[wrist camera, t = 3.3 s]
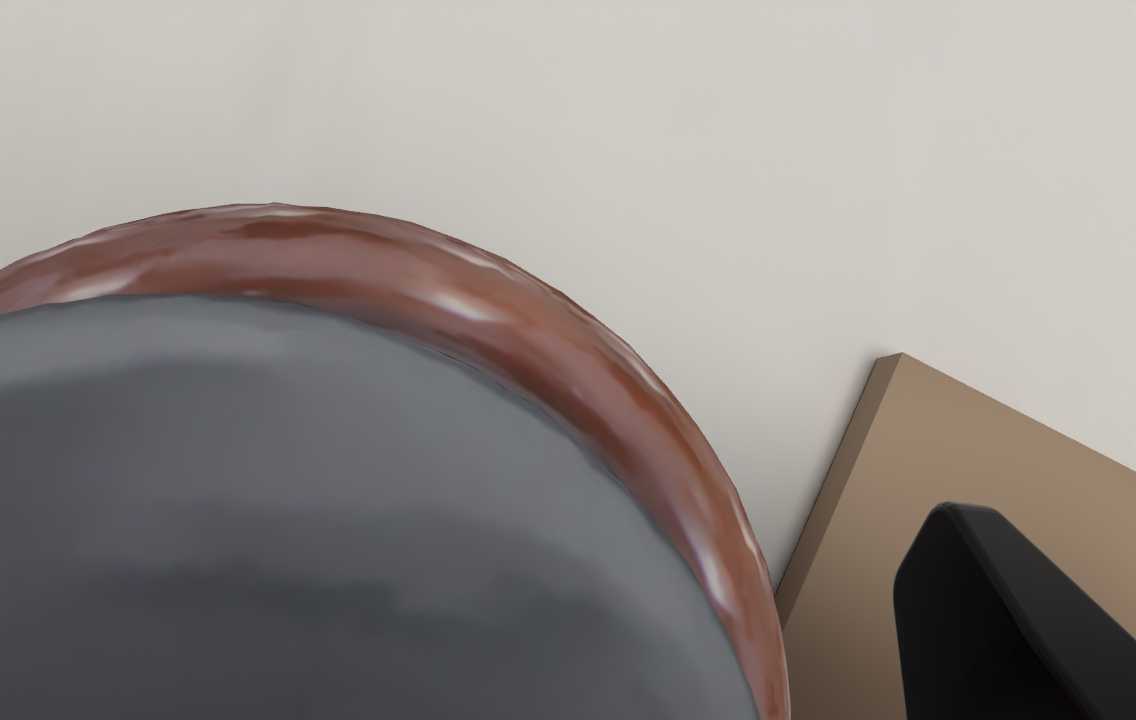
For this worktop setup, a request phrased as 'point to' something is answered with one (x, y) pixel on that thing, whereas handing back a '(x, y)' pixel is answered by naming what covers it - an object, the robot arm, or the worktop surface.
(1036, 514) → the walnut coaster board
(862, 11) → the worktop surface
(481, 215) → the worktop surface
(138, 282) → the supplement bottle
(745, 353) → the worktop surface
